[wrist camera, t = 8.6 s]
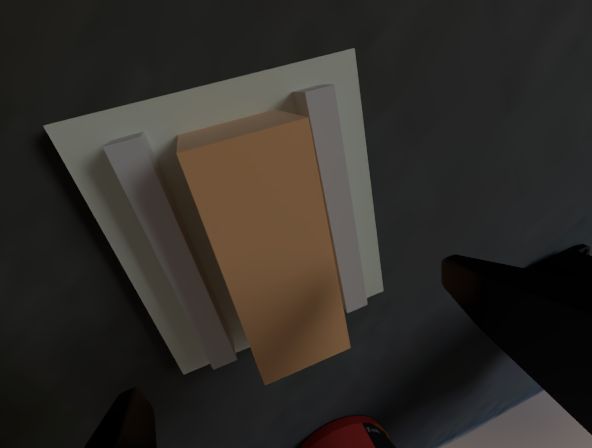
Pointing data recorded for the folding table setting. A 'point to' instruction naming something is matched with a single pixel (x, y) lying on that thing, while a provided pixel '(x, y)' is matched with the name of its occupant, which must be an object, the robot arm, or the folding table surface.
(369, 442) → the canned food
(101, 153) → the deck plate
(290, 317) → the chute block
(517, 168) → the folding table surface
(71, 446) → the folding table surface
